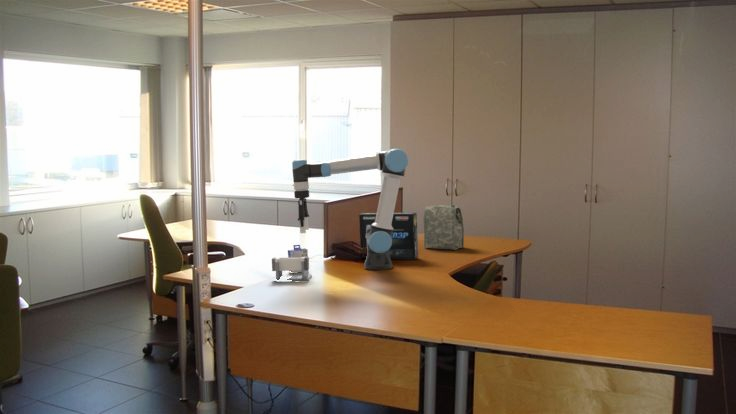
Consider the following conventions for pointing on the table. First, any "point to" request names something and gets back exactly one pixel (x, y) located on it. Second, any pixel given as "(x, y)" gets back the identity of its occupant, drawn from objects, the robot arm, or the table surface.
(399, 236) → the box
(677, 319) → the table surface
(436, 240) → the bag
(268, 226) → the table surface
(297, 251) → the ink cartridge box
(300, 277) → the bracket
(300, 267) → the strip bar
